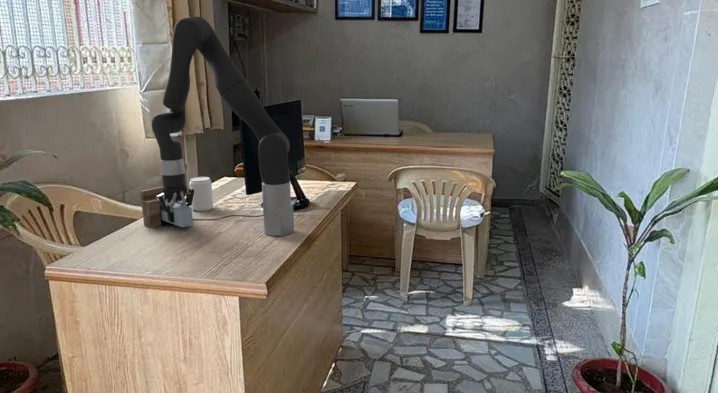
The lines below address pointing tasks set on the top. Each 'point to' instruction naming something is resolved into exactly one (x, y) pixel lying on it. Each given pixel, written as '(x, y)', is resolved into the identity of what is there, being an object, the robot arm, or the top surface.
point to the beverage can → (201, 193)
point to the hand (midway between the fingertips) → (178, 220)
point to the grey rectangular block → (179, 215)
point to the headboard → (151, 206)
